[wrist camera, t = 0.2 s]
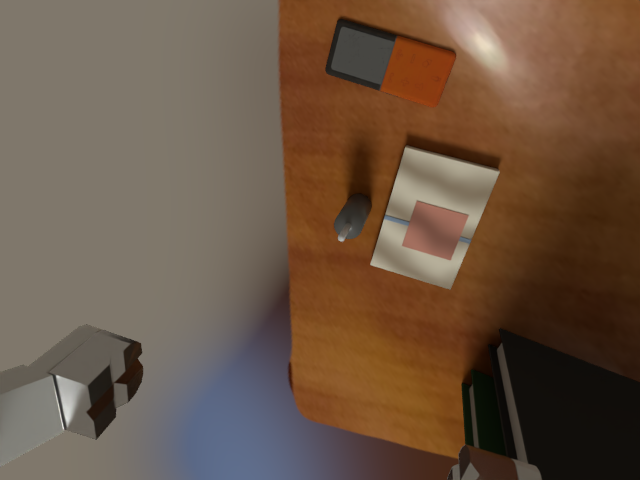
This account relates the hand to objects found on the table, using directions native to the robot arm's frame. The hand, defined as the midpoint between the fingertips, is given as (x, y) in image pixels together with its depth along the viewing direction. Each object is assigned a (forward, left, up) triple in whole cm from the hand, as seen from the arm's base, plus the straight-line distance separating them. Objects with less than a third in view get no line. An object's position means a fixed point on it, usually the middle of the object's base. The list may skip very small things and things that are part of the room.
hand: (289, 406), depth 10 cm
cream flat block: (+12, +6, -48) cm, 49 cm away
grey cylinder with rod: (+13, -4, -48) cm, 49 cm away
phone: (-6, -5, -48) cm, 49 cm away
